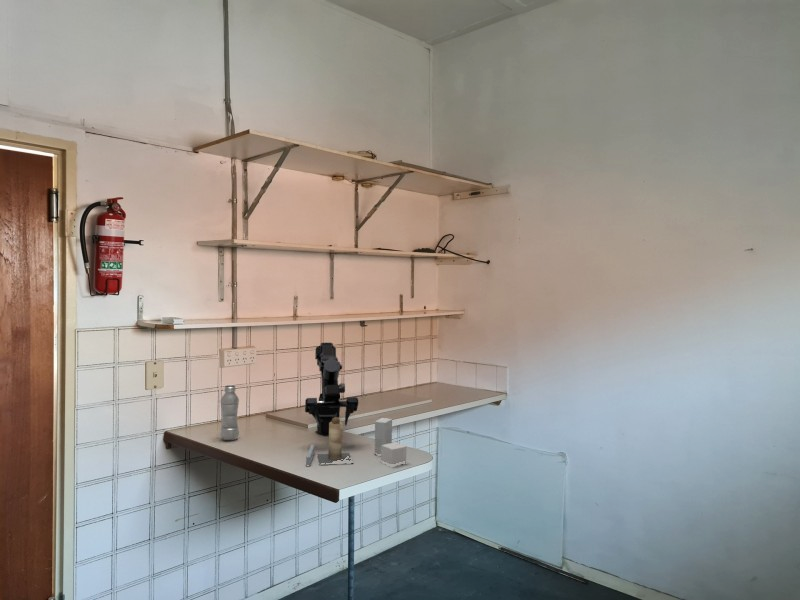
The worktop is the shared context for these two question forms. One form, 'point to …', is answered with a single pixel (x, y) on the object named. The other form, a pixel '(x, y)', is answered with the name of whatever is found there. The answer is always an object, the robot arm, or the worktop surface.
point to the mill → (335, 439)
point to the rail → (310, 454)
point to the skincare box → (382, 433)
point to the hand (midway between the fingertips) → (332, 425)
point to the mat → (324, 459)
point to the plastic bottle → (229, 414)
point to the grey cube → (393, 453)
